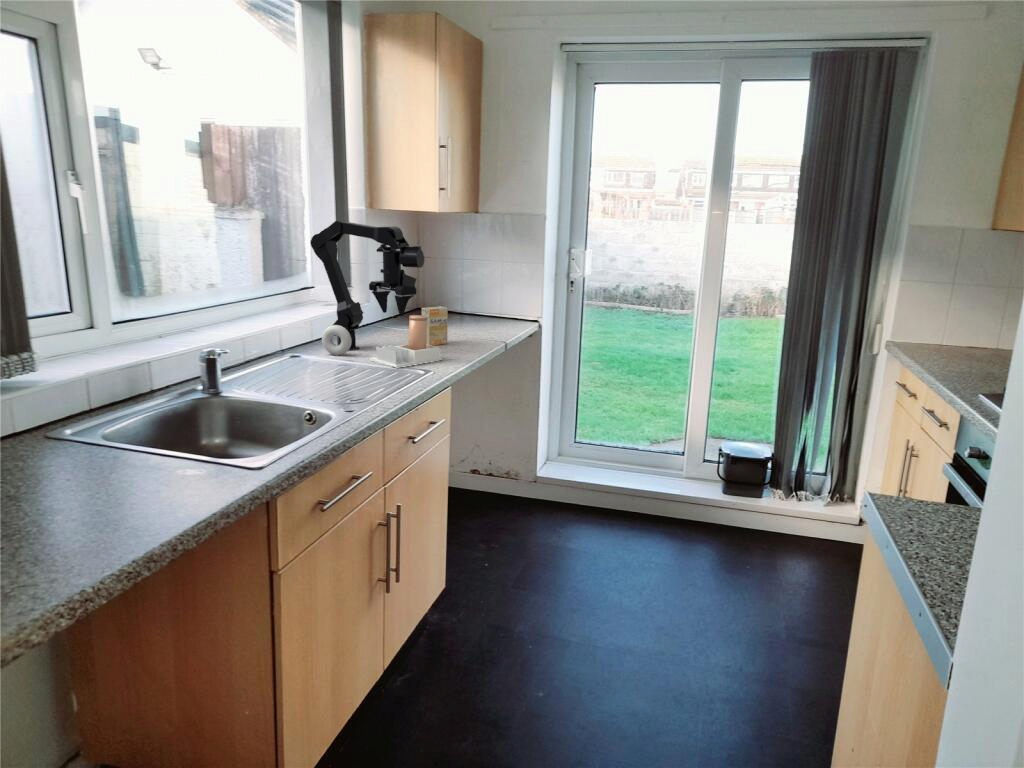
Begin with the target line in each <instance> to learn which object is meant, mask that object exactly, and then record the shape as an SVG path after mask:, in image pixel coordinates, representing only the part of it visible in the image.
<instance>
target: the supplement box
mask: <svg viewBox="0 0 1024 768" xmlns="http://www.w3.org/2000/svg"><path fill="white" fill-rule="evenodd" d="M448 311H449V310H448V307H446V306H431V307H421V315H422V316H427V317H428V320H427V344H429V345H433V346H439V345H447V344H448V328H449V327H448V324H449V323H448V318H449V317H448V316H449V315H448Z"/></svg>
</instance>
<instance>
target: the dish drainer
mask: <svg viewBox="0 0 1024 768" xmlns="http://www.w3.org/2000/svg"><path fill="white" fill-rule="evenodd" d="M375 348H376V356H373V357H369V361H370V360H371V361H375V362H378V363H383V364H386V365H390V366H394V367H402V366H409V365H414V364H420V363H425V362H431V361H437V362H440V361H439V360H442V361H443V357H441V356H440V346H438V345H429V344H427V346H426V349H422V350H416V351H414V350H411V349H409V343H408V344H407V343H406V344H403V345H396V346H395V345H390V344H388V345H387V346H385V345H382V346H381V347H380V346H376V347H375ZM371 361H370V362H371ZM378 363H377V364H378ZM431 363H432V362H431Z"/></svg>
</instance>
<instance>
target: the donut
mask: <svg viewBox="0 0 1024 768" xmlns="http://www.w3.org/2000/svg"><path fill="white" fill-rule="evenodd" d="M334 336H336V337H337V336H339V337H340V339H341V343H340V345H337V344H335V343H334V341H333V339H334ZM351 342H352V340H351V336H350V334H349V332H348V331H347V330H346V329H345V328H344V327H342V326H339V325H333V324H332V325H330V326H328V327H326V328H325V330H324V331H323V333H322V335H321V344H322V346H323V348H324V349H325V350H326V351H327V353H329V354H331V355H333V354H334V356H342V355H345V354H347V352H349V351H350V350H349V349H350V347H351Z"/></svg>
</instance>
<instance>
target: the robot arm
mask: <svg viewBox="0 0 1024 768" xmlns="http://www.w3.org/2000/svg"><path fill="white" fill-rule="evenodd" d="M344 235H350V236H353V237H354V236H355V237H360V238H366V239H370V240H373V241H375V242H376V243H379V244H380V245H379V247H378V248H377V249H376V252H377V253H382V269H381V268H380V269H379V270H380V273H381V274H382V276H383V278H382V280H373V281H370V282H369V284H368V290H369V291H371V293H372V294H373V296H374V298H375V299H376V302H377V304H378V305H379V307H380V309H381V311H382V313H384V314H386V313H387V311H388V298H389V297H388V296H389V294H390V293H391V292H392V291H393V292H394V293H395V295H394V299H395V303H396V308H397V312H398V313H399V317H403V316H404V314H405V311H406V308H407V306H408V302H409V301H410V299H412V298H413V297H414V296H415V295H417V294H418V289H417V287H416V283H417V278H415V277H413V276H410V275H408V274H406V273H405V269H402V267H404V268H417V269H419V268H420V269H421V268H422V267H423V266H424V264H425V256H424V252H423V250H422V246H421V245H414V246H412V245H411V246H410V244H409V243H408V240H406V238H405V237H404V233H403V230H402V229H401V227H399V226H374V225H367V224H362V223H355V222H350V221H346V220H343V219H342V220H335V221H334V222H332V223H331V224H330V225H328V226H327V227H325V228H324V229H323V230H321V231H320V232H319V233H316V234H314V235H313V236H312V237H311V240H310V243H309V244H310V247H311V248H312V250H313V252H314V254H315V255H316V256H317V258H318V259H319V260H320V261H321V262H322V264H323V266H324V267H323V268H324V270H325V273H326V275H327V278H328V282H329V283H330V286H331V289H332V292H333V295H334V297H335V300H336V303H337V304H336V305H337V306H336V316H337V320H336V321H335V322H334V323H333V324H332V325H339V326H342V327H344V328H345V329H346V330H347V331H348V332H349V334H350V336H351V340H352V342H351V347H350V349H349V350H348V351H350V350H351V349H352V350H356V349H357V350H358V349H360V346H357V341H356V330H359V327H360V324H361V323H362V322H363V319H364V316H363V314H364V311H363V310H362V307H361V303H360V302H359V301H357V302H356V301H354V300H353V298H352V297H351V293H350V291H349V288H348V284H347V283H346V280H345V277H344V275H343V271H342V269H341V266H340V265H341V264H340V263H339V261H338V251H339V250H338V244H337V243H338V242H340V241H341V239H342V238H343V237H344ZM336 339H337V341H336V343H337V344H336V345H340V343H341V339H340V337H339V336H337V335H336Z"/></svg>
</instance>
